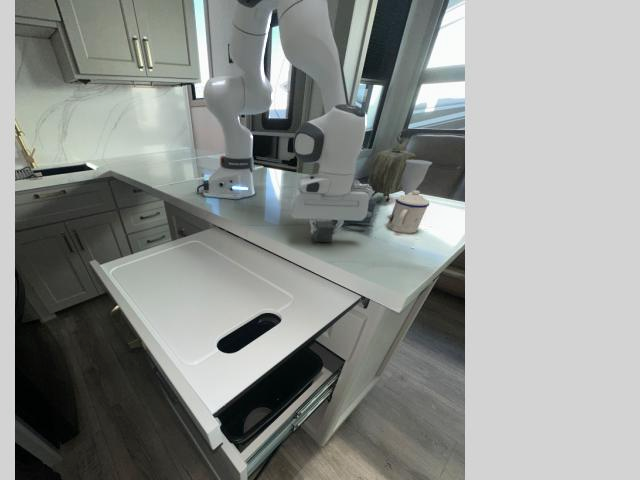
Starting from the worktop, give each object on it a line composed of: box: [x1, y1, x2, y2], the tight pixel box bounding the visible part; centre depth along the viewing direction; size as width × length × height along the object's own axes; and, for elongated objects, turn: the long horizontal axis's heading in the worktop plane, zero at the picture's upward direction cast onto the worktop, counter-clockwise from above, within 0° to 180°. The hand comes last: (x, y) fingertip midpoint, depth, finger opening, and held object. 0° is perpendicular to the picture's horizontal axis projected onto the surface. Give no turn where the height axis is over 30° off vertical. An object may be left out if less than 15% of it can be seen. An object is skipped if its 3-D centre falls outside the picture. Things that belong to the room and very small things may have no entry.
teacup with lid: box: [387, 189, 430, 234], centre depth 82 cm, size 12×9×12 cm
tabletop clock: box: [367, 128, 418, 203], centre depth 101 cm, size 14×9×25 cm, turn 122°
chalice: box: [389, 159, 433, 218], centre depth 88 cm, size 7×7×18 cm
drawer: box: [333, 199, 377, 224], centre depth 89 cm, size 19×11×7 cm, turn 176°
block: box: [313, 220, 335, 243], centre depth 77 cm, size 4×4×4 cm
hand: (323, 233), depth 77 cm, fingers closed on block, 4 cm apart
